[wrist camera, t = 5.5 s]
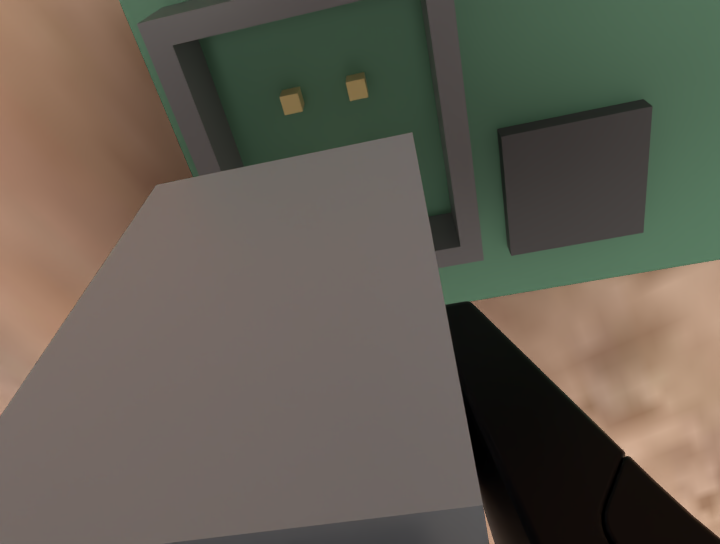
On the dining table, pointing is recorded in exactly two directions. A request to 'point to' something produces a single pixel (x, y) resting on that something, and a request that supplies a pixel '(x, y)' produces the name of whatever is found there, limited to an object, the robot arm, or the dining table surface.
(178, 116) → the grey square frame
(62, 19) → the dining table surface
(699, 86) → the board
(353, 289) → the plug
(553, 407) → the robot arm
